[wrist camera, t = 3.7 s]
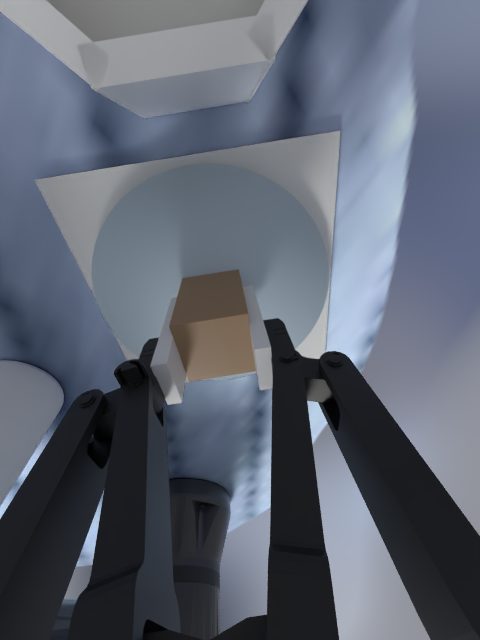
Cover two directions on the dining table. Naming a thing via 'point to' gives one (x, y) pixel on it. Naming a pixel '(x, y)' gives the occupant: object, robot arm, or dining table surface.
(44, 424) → the milk bottle
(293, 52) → the dining table surface
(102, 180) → the mat
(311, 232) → the lid
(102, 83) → the bowl
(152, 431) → the robot arm
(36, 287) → the dining table surface
